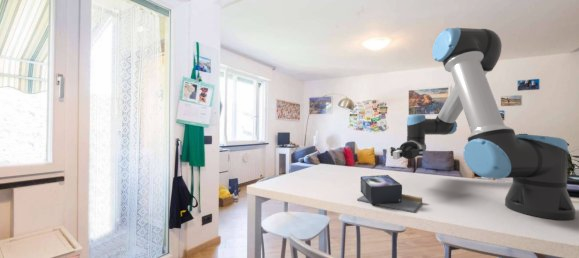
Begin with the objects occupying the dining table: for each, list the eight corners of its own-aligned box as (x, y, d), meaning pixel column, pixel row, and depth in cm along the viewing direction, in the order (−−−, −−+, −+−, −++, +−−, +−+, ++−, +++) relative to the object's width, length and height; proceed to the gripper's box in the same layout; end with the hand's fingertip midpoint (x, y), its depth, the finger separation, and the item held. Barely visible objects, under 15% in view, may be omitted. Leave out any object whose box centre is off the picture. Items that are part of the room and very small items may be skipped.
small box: (388, 173, 90) (403, 184, 79) (388, 190, 90) (402, 203, 80) (360, 175, 89) (371, 186, 79) (360, 192, 90) (371, 205, 80)
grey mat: (422, 203, 82) (422, 197, 82) (413, 212, 74) (413, 206, 74) (370, 193, 94) (370, 188, 94) (357, 200, 85) (357, 195, 85)
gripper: (427, 159, 104) (414, 167, 85) (395, 156, 112) (376, 163, 93) (427, 141, 103) (414, 146, 85) (395, 140, 112) (377, 144, 93)
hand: (394, 155), depth 89 cm, fingers closed
